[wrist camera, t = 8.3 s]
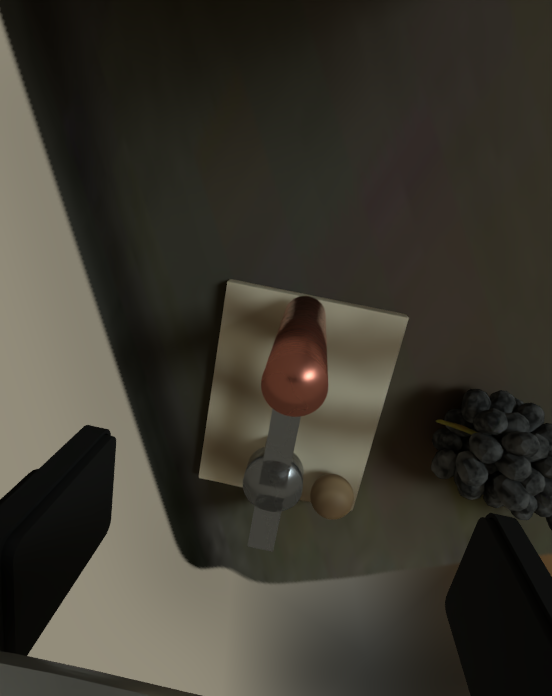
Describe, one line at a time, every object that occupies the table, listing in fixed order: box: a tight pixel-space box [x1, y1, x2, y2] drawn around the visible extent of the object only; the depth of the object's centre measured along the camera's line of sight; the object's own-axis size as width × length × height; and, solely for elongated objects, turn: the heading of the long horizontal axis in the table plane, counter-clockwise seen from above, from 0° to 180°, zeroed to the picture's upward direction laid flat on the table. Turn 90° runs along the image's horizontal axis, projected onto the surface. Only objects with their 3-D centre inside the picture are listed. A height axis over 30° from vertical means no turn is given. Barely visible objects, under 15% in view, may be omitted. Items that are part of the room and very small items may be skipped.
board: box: [199, 279, 409, 511], centre depth 35 cm, size 18×14×5 cm
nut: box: [310, 474, 354, 519], centre depth 36 cm, size 4×4×4 cm
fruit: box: [431, 389, 552, 530], centre depth 33 cm, size 9×8×15 cm
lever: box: [243, 296, 328, 552], centre depth 28 cm, size 19×4×14 cm, turn 171°
